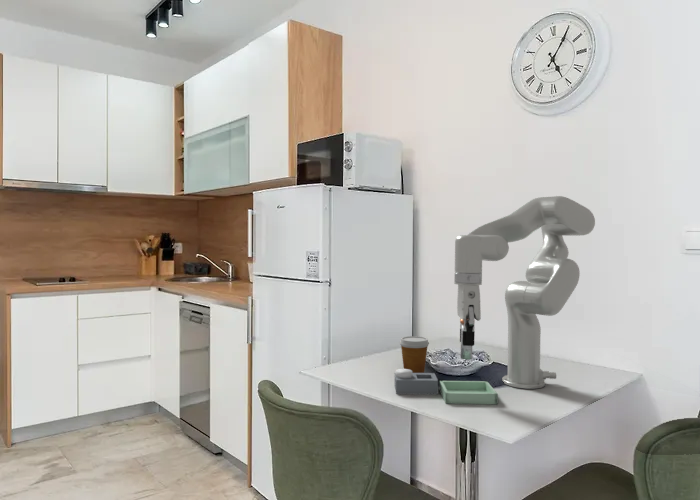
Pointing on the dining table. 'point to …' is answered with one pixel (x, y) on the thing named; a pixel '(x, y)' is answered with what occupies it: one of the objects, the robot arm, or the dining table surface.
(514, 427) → the dining table surface
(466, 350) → the pin
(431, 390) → the block
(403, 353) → the disposable coffee cup
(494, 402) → the tray
